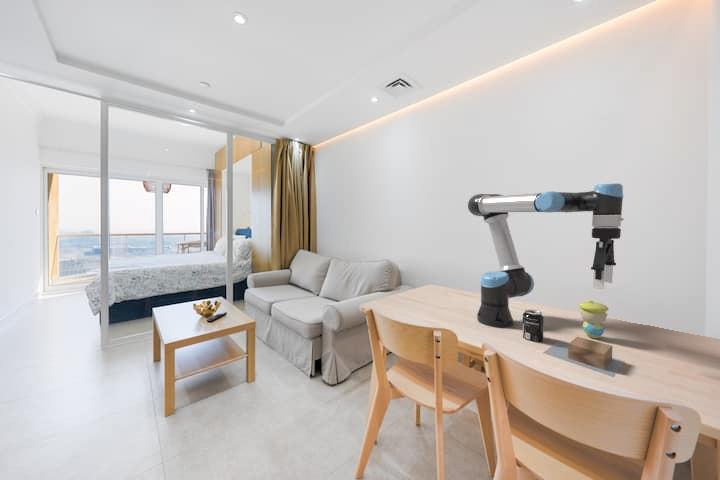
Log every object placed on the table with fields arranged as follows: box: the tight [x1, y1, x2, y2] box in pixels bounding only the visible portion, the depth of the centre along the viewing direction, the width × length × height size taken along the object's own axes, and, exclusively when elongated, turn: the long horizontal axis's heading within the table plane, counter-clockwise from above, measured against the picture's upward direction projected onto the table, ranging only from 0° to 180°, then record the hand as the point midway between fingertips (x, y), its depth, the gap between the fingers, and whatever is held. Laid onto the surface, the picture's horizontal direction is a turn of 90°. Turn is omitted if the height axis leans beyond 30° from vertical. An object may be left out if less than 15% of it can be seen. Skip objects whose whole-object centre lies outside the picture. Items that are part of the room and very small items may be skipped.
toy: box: [578, 300, 609, 339], centre depth 103 cm, size 8×9×15 cm
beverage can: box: [522, 308, 545, 343], centre depth 101 cm, size 7×7×12 cm
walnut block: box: [567, 336, 613, 370], centre depth 85 cm, size 9×9×5 cm
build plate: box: [542, 341, 626, 378], centre depth 87 cm, size 18×14×1 cm
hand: (602, 285), depth 94 cm, fingers open, 13 cm apart
